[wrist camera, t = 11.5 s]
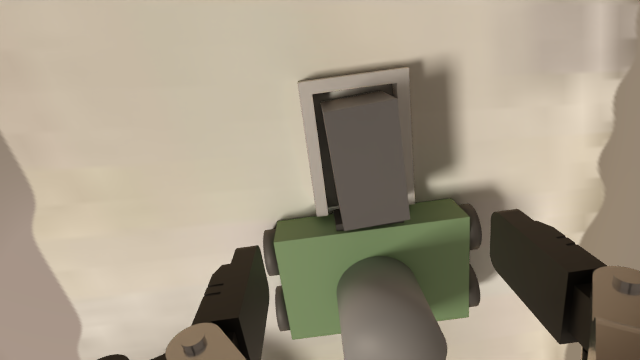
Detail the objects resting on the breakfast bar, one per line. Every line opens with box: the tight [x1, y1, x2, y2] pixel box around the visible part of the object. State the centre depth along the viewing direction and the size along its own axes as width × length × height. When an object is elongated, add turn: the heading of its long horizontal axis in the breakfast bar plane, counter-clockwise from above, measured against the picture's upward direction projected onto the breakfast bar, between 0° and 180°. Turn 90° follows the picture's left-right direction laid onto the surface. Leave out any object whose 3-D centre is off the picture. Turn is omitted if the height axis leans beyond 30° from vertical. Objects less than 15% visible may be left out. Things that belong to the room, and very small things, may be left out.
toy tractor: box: [263, 67, 482, 360], centre depth 27 cm, size 22×18×11 cm
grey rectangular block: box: [320, 91, 410, 231], centre depth 28 cm, size 9×5×6 cm, turn 10°
